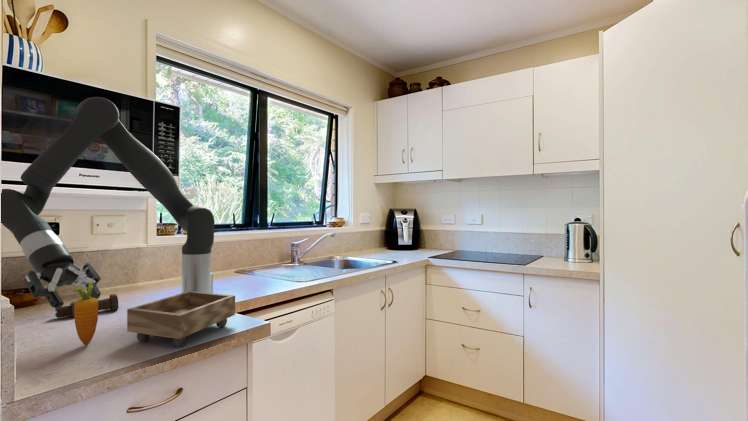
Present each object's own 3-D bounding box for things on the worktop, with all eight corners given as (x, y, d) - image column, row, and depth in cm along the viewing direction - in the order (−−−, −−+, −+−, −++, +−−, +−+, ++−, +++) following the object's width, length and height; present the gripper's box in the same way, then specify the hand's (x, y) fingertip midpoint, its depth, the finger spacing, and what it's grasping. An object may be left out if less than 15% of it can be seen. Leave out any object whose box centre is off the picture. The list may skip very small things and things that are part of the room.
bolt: (55, 325, 109) (116, 313, 119) (57, 320, 106) (119, 308, 116) (54, 306, 111) (114, 296, 121) (55, 300, 107) (116, 291, 118)
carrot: (79, 351, 86) (79, 287, 85) (69, 346, 88) (69, 284, 88) (103, 344, 90) (103, 283, 90) (93, 340, 92) (93, 280, 92)
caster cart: (189, 319, 110) (189, 290, 110) (235, 324, 105) (235, 295, 105) (127, 343, 90) (127, 309, 90) (179, 351, 86) (179, 315, 86)
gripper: (19, 245, 85) (54, 299, 82) (83, 240, 98) (116, 286, 95) (4, 266, 86) (38, 320, 83) (69, 258, 100) (100, 304, 97)
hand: (79, 302), depth 89 cm, fingers open, 8 cm apart
